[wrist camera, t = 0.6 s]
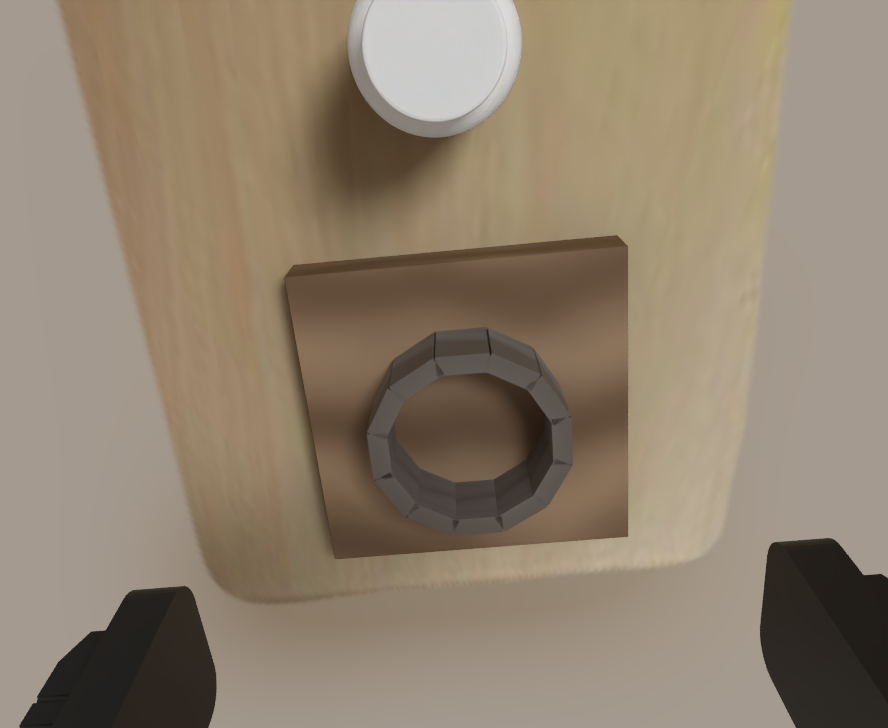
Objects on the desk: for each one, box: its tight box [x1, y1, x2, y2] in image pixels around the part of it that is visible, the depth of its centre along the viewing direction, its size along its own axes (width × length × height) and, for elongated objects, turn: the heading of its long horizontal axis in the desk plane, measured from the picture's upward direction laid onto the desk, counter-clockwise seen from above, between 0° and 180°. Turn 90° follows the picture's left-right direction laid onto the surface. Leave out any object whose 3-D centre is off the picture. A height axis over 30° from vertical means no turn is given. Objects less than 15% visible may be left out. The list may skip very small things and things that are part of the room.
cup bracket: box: [285, 236, 628, 559], centre depth 32 cm, size 14×14×5 cm
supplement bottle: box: [347, 0, 522, 138], centre depth 25 cm, size 5×5×10 cm
